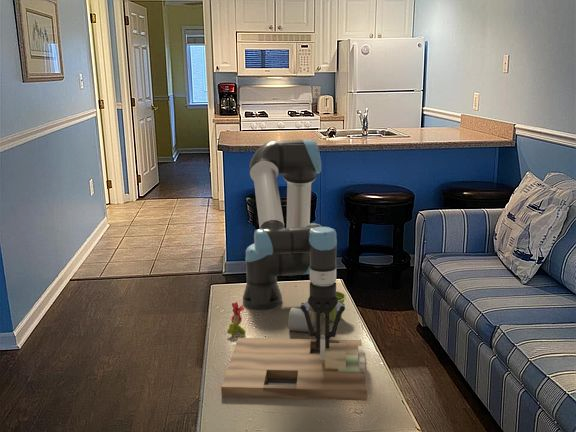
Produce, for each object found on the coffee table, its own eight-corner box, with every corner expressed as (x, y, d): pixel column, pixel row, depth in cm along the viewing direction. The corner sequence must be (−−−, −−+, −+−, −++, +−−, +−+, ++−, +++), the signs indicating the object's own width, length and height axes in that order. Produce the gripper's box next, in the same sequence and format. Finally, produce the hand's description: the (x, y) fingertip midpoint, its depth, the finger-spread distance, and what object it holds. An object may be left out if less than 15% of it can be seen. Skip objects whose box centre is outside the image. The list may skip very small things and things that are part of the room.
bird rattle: (226, 335, 193) (227, 336, 184) (225, 302, 195) (225, 302, 186) (244, 333, 194) (246, 334, 185) (243, 301, 196) (244, 301, 187)
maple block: (325, 358, 166) (325, 342, 165) (345, 358, 165) (345, 343, 164) (324, 368, 160) (324, 352, 159) (345, 368, 159) (346, 353, 158)
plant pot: (326, 326, 194) (327, 302, 192) (315, 315, 202) (314, 293, 200) (350, 321, 197) (350, 298, 195) (337, 311, 206) (337, 289, 204)
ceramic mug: (311, 335, 187) (311, 314, 185) (287, 333, 188) (287, 312, 187) (316, 323, 197) (316, 302, 195) (294, 321, 198) (293, 301, 197)
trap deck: (238, 346, 180) (237, 329, 179) (361, 348, 177) (361, 331, 176) (221, 396, 152) (220, 376, 151) (366, 400, 149) (367, 380, 148)
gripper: (299, 286, 154) (299, 363, 160) (346, 287, 153) (345, 364, 159) (300, 276, 161) (301, 350, 167) (345, 277, 160) (344, 352, 166)
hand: (322, 357), depth 163 cm, fingers closed
